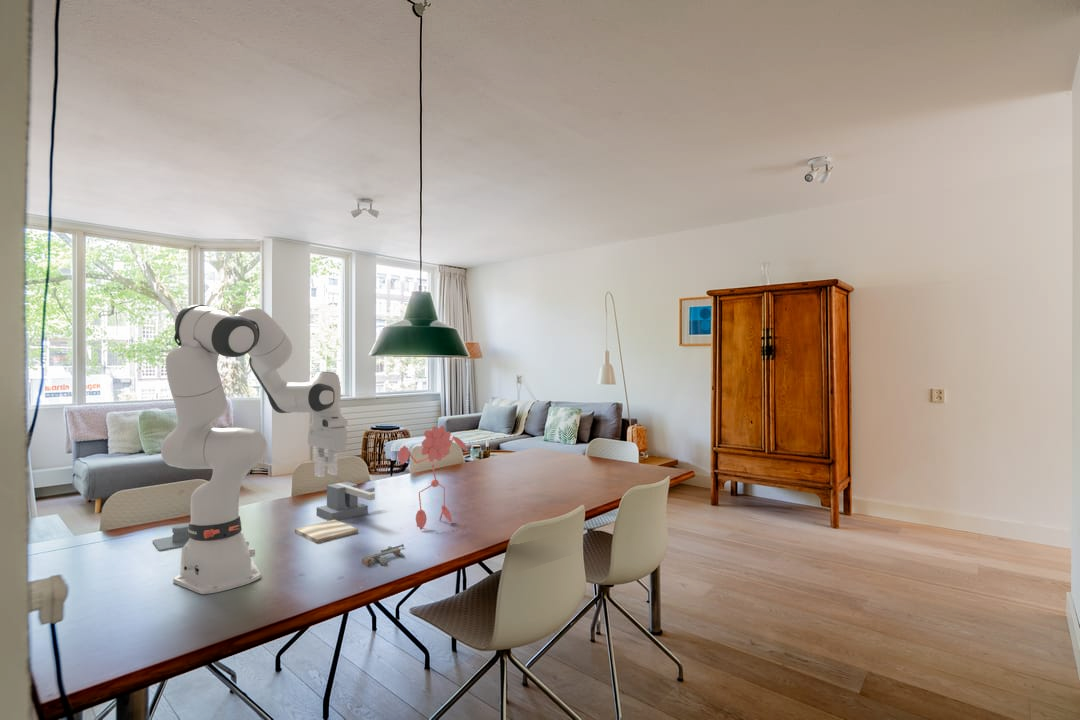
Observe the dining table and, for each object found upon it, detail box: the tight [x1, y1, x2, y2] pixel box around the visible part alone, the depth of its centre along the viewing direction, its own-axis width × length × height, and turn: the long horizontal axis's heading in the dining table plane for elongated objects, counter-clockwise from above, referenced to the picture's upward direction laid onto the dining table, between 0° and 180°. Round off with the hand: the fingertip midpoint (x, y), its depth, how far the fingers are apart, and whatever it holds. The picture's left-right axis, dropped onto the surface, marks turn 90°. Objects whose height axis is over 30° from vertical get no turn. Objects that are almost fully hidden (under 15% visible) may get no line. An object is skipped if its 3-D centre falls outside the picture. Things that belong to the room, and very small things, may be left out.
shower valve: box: [152, 522, 190, 552], centre depth 168 cm, size 12×6×15 cm
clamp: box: [361, 543, 406, 567], centre depth 153 cm, size 15×2×10 cm
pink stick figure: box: [397, 425, 469, 535], centre depth 181 cm, size 15×26×35 cm, turn 132°
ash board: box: [294, 520, 359, 544], centre depth 175 cm, size 16×14×1 cm
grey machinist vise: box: [316, 481, 376, 521], centre depth 194 cm, size 27×20×11 cm
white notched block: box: [314, 454, 339, 478], centre depth 176 cm, size 4×6×6 cm, turn 138°
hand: (326, 461), depth 176 cm, fingers closed on white notched block, 4 cm apart
